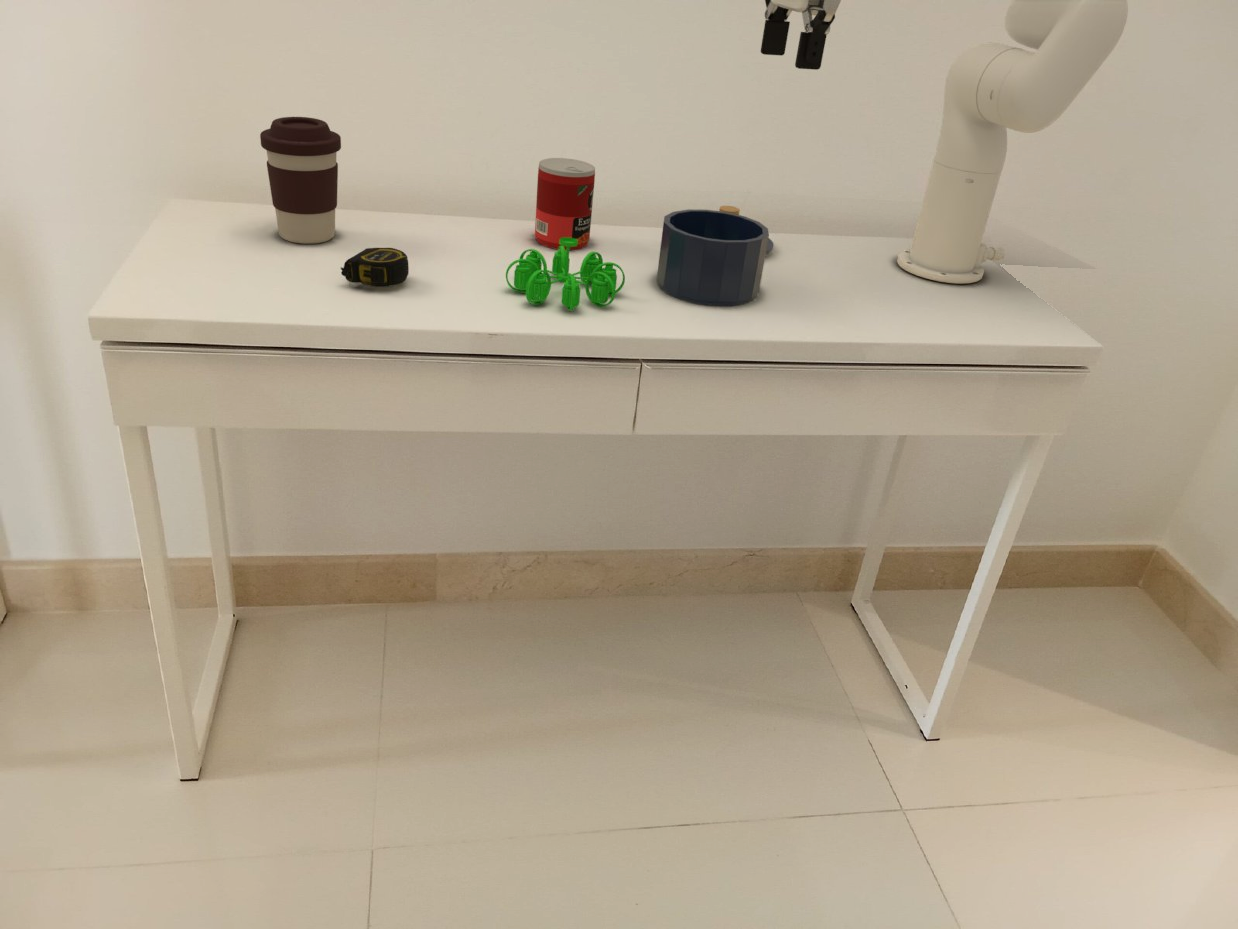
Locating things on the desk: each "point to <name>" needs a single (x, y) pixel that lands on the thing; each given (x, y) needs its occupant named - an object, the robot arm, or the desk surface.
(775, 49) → the robot arm
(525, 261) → the chandelier
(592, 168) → the canned food
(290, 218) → the coffee cup
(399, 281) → the tape measure
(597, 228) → the desk surface
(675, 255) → the tin
